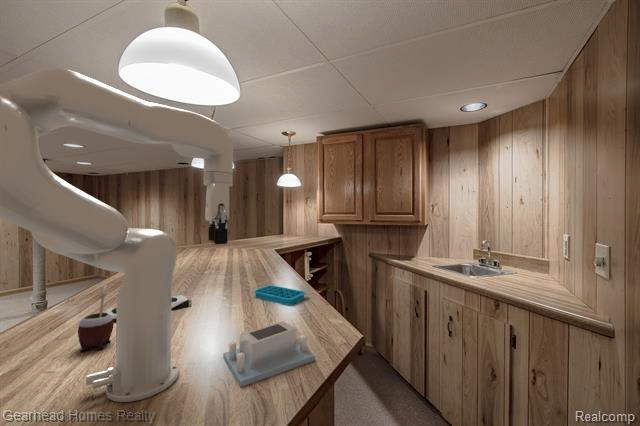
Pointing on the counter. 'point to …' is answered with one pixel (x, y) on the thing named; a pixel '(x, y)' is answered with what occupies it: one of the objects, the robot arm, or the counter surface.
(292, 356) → the pin tray
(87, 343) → the mate gourd
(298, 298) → the ice cube tray
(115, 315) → the graphics card
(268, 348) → the block
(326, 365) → the counter surface
